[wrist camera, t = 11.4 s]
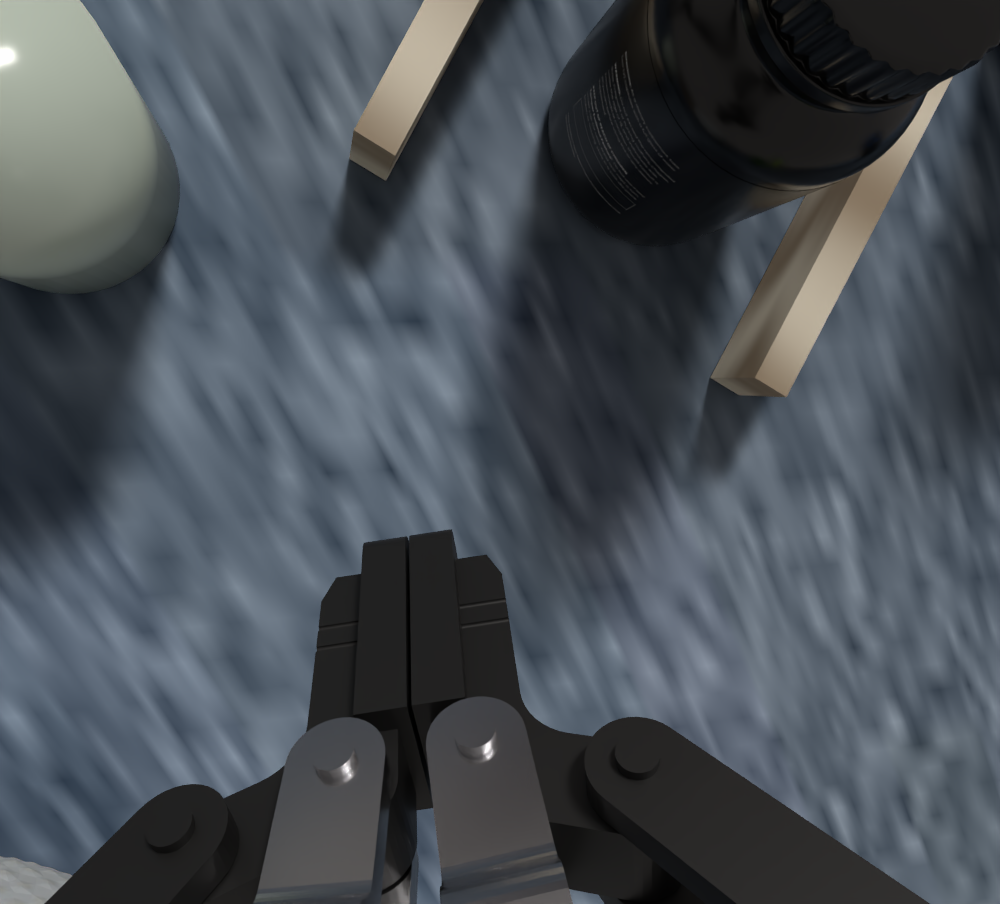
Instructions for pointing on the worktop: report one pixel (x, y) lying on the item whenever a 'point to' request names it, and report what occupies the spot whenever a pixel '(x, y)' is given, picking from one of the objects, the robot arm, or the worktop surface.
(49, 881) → the cereal bowl
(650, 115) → the supplement bottle
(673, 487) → the worktop surface
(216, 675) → the worktop surface
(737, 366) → the u-shaped wooden frame
